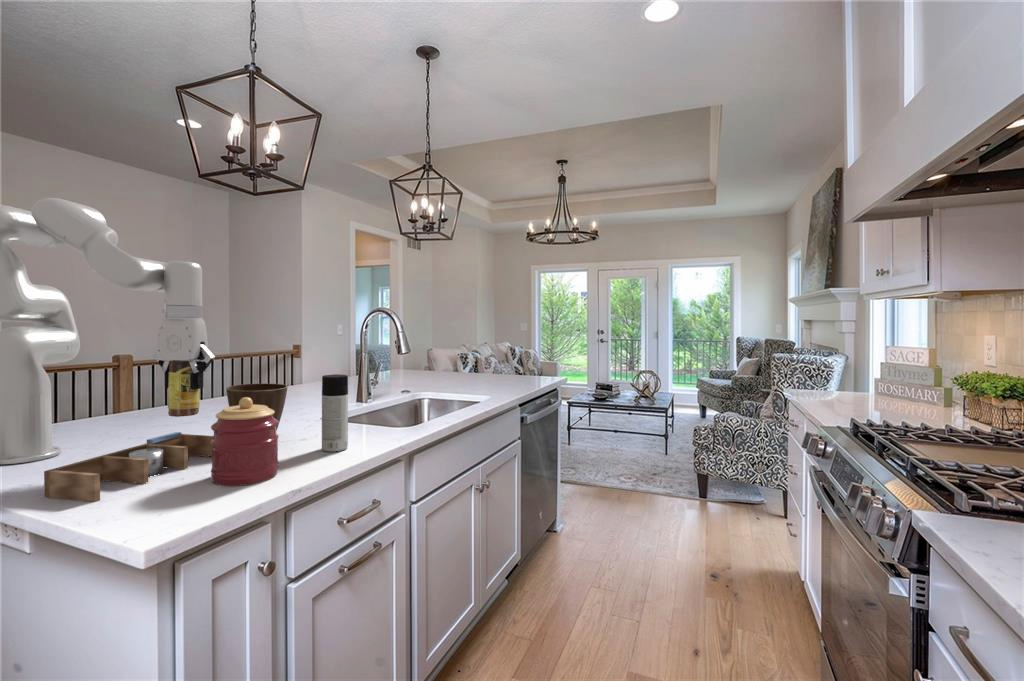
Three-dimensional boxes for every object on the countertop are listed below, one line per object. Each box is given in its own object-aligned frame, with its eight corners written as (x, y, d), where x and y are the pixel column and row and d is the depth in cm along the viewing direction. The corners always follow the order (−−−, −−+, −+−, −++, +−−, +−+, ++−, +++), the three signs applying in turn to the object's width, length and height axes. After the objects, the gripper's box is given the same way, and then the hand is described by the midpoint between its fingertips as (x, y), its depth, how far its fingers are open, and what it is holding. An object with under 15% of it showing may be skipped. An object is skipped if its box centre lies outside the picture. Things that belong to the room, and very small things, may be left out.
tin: (121, 477, 102) (121, 454, 102) (147, 469, 108) (146, 447, 108) (145, 479, 101) (145, 456, 101) (170, 471, 107) (169, 449, 107)
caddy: (43, 497, 90) (43, 467, 90) (180, 453, 121) (180, 430, 121) (94, 501, 88) (94, 471, 88) (220, 456, 119) (220, 433, 119)
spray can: (353, 448, 129) (353, 375, 128) (331, 454, 123) (332, 377, 122) (337, 444, 132) (337, 373, 132) (315, 449, 127) (316, 375, 126)
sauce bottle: (183, 418, 110) (182, 333, 109) (161, 416, 111) (160, 332, 111) (206, 413, 117) (206, 332, 116) (185, 411, 118) (184, 332, 117)
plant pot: (284, 435, 142) (284, 382, 141) (290, 447, 129) (290, 388, 128) (226, 440, 134) (226, 384, 133) (226, 454, 121) (226, 391, 120)
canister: (216, 471, 108) (216, 394, 107) (280, 465, 113) (280, 391, 112) (205, 490, 96) (205, 403, 95) (276, 483, 101) (277, 400, 100)
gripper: (137, 312, 111) (138, 389, 111) (203, 313, 108) (203, 392, 109) (165, 313, 118) (166, 385, 119) (227, 314, 115) (228, 387, 116)
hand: (184, 387), depth 114 cm, fingers closed on sauce bottle, 6 cm apart
